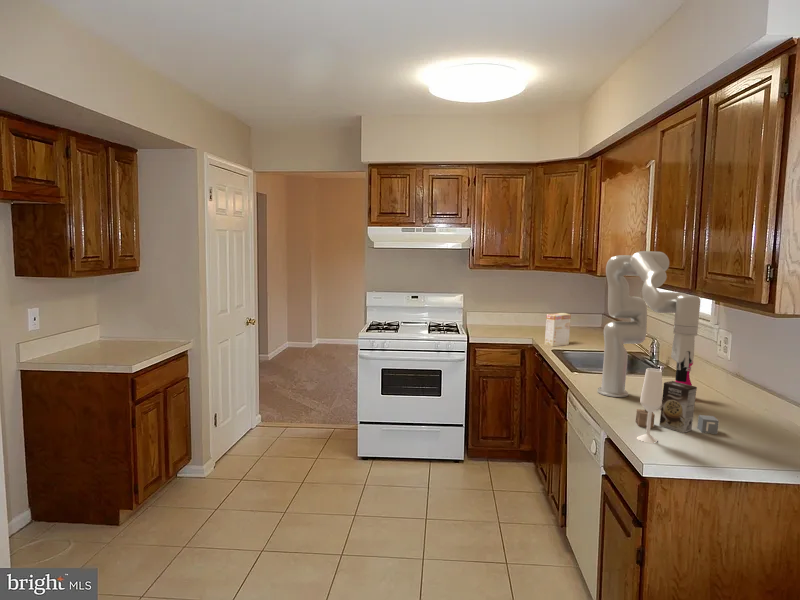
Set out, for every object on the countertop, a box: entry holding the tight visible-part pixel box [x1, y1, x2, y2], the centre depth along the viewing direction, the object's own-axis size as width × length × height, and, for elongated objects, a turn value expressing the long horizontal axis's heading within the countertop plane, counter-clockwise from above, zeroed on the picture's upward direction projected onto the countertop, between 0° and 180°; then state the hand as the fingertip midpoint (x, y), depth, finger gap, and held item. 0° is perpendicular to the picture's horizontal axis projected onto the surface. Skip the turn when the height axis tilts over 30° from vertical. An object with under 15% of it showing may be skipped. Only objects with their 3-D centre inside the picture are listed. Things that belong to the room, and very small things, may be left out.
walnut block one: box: [635, 408, 655, 429], centre depth 202 cm, size 5×5×6 cm
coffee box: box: [659, 380, 698, 434], centre depth 200 cm, size 9×6×16 cm
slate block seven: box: [696, 414, 720, 435], centre depth 198 cm, size 5×5×5 cm
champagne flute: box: [636, 367, 663, 444], centre depth 186 cm, size 7×7×24 cm
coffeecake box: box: [544, 312, 572, 347], centre depth 347 cm, size 15×7×20 cm, turn 123°
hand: (680, 381), depth 199 cm, fingers closed
